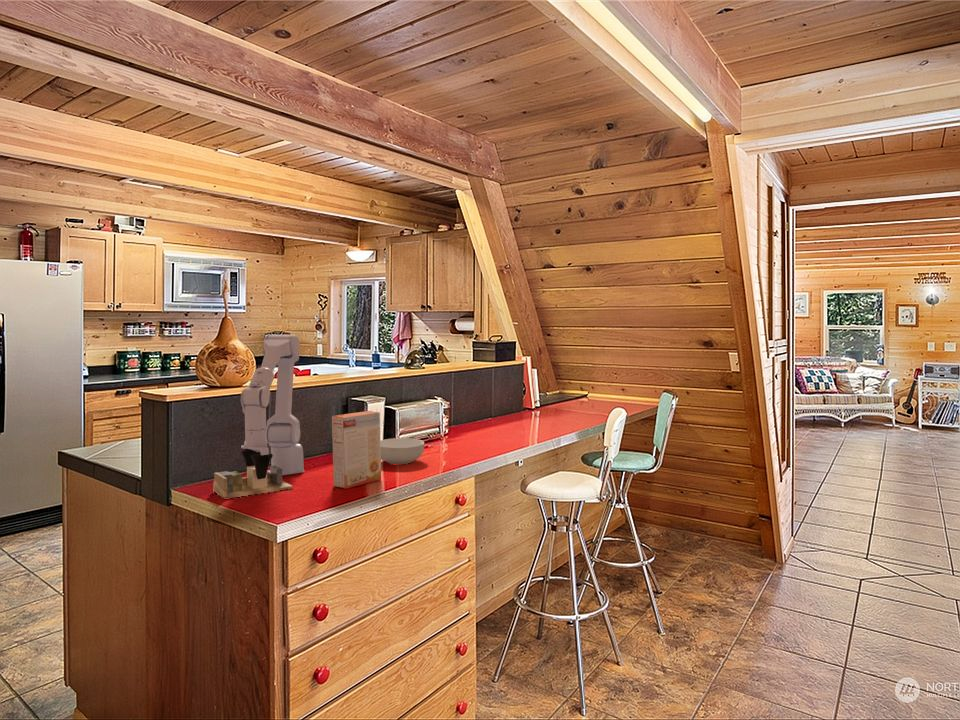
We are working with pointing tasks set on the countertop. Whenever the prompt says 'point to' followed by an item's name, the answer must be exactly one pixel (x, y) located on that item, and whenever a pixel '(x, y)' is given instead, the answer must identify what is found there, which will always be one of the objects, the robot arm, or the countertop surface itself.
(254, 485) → the beige wooden cube
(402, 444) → the cereal bowl
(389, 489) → the countertop surface
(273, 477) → the bookend
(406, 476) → the countertop surface
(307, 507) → the countertop surface
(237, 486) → the shelf
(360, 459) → the cracker box
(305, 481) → the countertop surface
